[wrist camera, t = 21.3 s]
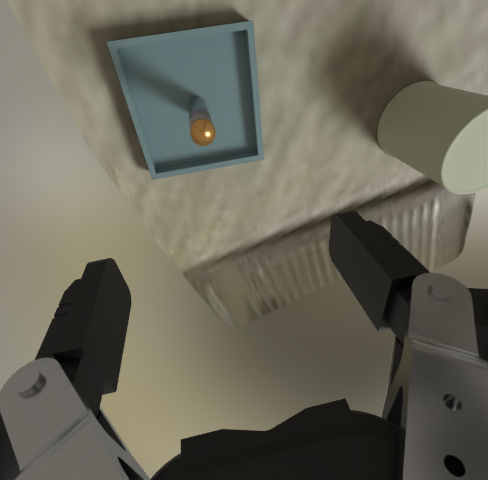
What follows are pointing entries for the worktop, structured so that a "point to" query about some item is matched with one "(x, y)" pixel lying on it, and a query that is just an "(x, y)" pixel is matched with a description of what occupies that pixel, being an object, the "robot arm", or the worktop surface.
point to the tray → (192, 95)
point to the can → (439, 134)
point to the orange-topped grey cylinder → (200, 122)
